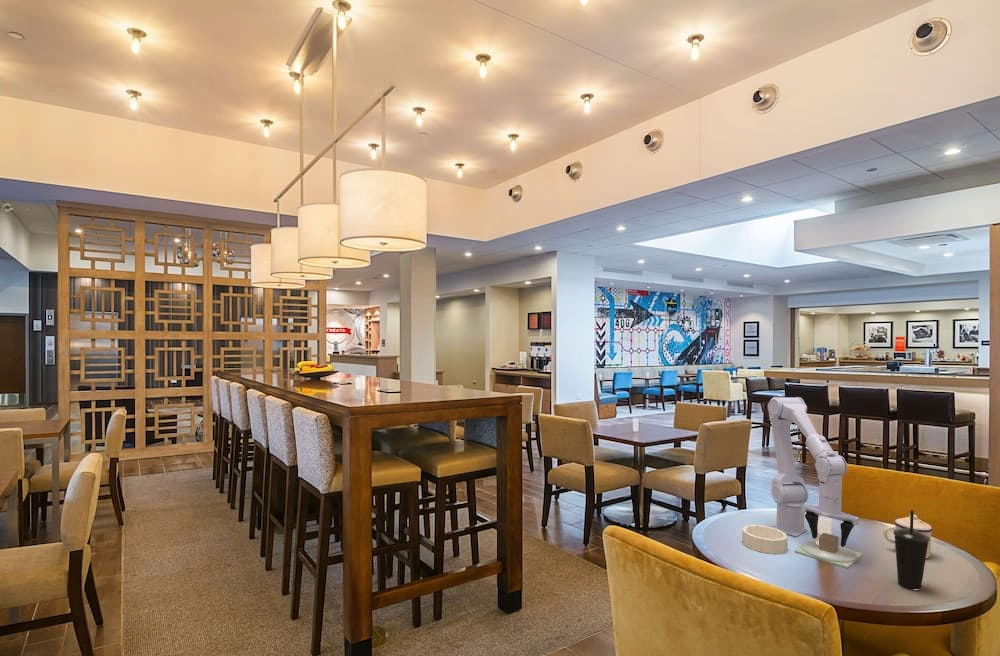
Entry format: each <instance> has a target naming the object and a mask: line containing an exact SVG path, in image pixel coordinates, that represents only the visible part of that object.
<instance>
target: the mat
mask: <svg viewBox="0 0 1000 656" xmlns="http://www.w3.org/2000/svg"><path fill="white" fill-rule="evenodd" d="M810 540H814V539H813V538H811V539H810ZM810 540H808V541H810ZM853 551H854V552H855V553H856V555H857V558H856V560H855V561H853V562H848V563H841V562H832V561H827V560H823V559H819V558H816V557H814V556H812V555H810V554H808V553H806V552H805V551H804V550H803V549H802V545H801V546H799V547H798V548H796V549H795V550H794V551H793V552H794V553H795V554H800V555H803V556H806V557H809V558H812V559H814V560H819V561H822V562H825V563H828V564H831V565H835V566H837V567H841V568H844V569H847V570H848V569H849V568H850V567H851V566H853V564H855V563H856V562H857V561H858V560H859V559H860V558H862V557H863V555H864V553H862V552H858V551H855V550H853Z"/></svg>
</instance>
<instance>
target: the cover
mask: <svg viewBox="0 0 1000 656" xmlns="http://www.w3.org/2000/svg"><path fill="white" fill-rule="evenodd" d="M818 537H819V538H818V541H819V545H817V544H816V539H813V540H811V539H810V541H809V540H806V541H804V542H802V543H801V546H802V549H803V550H804V551H805V552H806V553H808V554H810V555H812V556H814V557H816V558H819V559H823V560H827V561H832V562H841V563H848V562H853V561H855V560H856V558H857V555H856V553H855V552H856V551H855V550H852V549H851V548H849V547H847V546H844V547H842V546H841V544H839V543H840V542H839V540H840V537H839V536H837V535H833V534H829V533H826V532H823V533H821V534H820V535H819V536H818ZM854 551H855V552H854Z"/></svg>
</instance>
